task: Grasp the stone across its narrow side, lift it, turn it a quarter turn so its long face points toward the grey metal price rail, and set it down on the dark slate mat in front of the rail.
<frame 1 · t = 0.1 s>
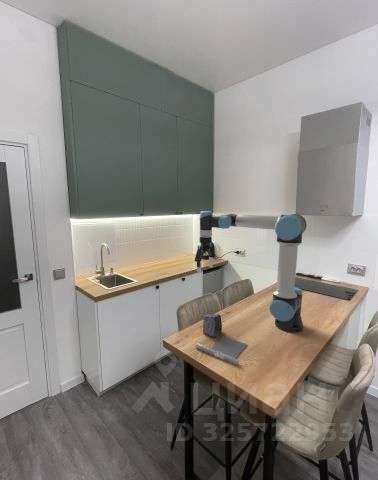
hand: (205, 269, 156), 28 cm above the counter, fingers open, 13 cm apart
mat: (228, 347, 122), on the counter
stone: (211, 333, 136), on the counter
price rail: (216, 355, 116), on the counter
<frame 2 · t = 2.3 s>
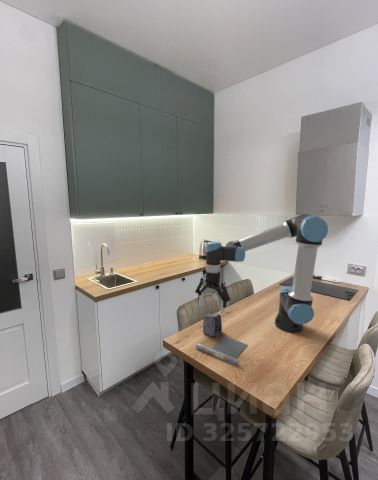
hand: (211, 309, 133), 14 cm above the counter, fingers open, 13 cm apart
nothing on the counter moved.
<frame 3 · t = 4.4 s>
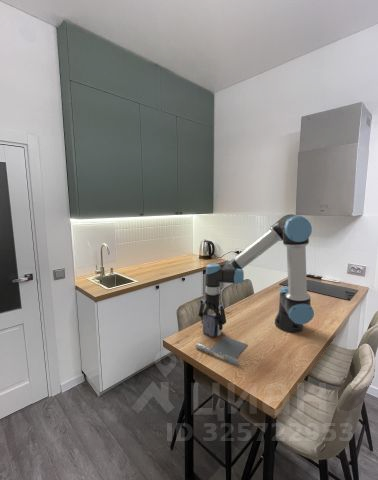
hand: (211, 331, 135), 0 cm above the counter, fingers closed on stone, 9 cm apart
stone: (211, 332, 136), on the counter, touching gripper
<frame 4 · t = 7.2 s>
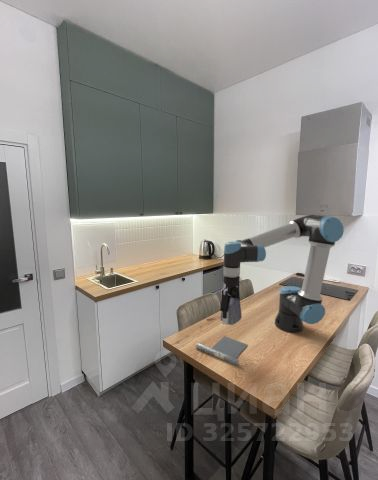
hand: (229, 320, 119), 15 cm above the counter, fingers closed on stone, 9 cm apart
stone: (229, 321, 119), point 14 cm above the counter, touching gripper
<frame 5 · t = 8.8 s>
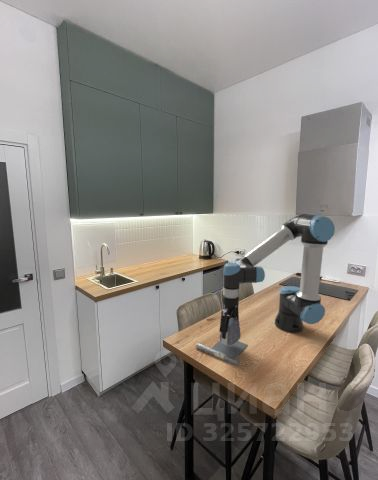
hand: (228, 339, 121), 5 cm above the counter, fingers closed on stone, 9 cm apart
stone: (228, 340, 121), point 4 cm above the counter, touching gripper
when the fingers open (2 cm above the counter, at t = 10.2 s): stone drops 1 cm, resting on mat.
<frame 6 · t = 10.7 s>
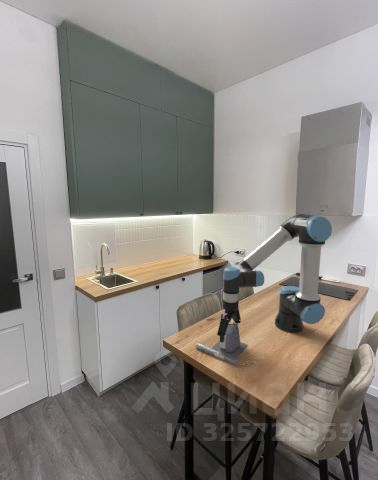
hand: (229, 340, 121), 4 cm above the counter, fingers open, 13 cm apart
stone: (228, 348, 121), resting on mat
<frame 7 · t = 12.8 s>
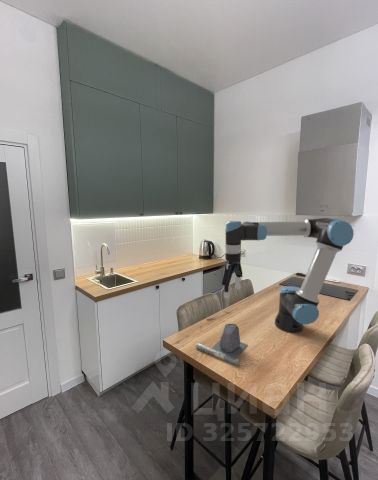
hand: (232, 293, 126), 25 cm above the counter, fingers open, 13 cm apart
nothing on the counter moved.
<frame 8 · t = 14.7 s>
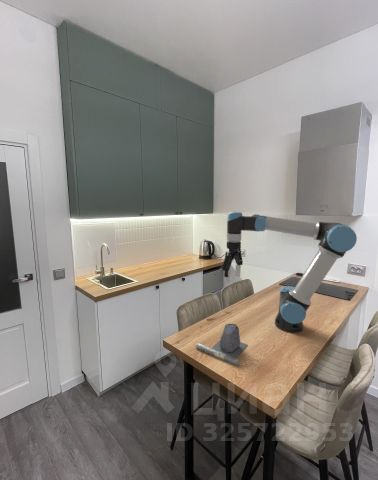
hand: (232, 279, 136), 29 cm above the counter, fingers open, 13 cm apart
nothing on the counter moved.
at the end: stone inside the target area on the mat (0.5 cm from its centre), point 0.2 cm above the mat's base; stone moved 16.0 cm from its start; the gripper is holding nothing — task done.
